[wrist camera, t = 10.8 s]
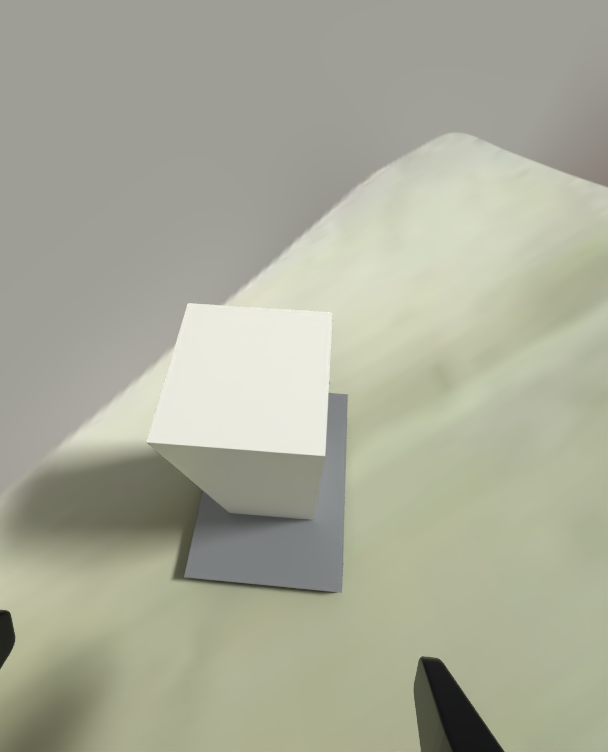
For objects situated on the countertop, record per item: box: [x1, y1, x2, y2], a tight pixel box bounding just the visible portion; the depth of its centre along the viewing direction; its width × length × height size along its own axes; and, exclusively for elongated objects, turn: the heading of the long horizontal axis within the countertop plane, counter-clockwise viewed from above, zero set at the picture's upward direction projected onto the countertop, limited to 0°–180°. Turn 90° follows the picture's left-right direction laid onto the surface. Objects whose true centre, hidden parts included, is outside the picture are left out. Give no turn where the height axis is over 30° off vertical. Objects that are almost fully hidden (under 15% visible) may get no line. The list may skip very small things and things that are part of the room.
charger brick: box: [146, 303, 333, 520], centre depth 16 cm, size 5×5×12 cm
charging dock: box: [184, 393, 348, 593], centre depth 21 cm, size 14×8×4 cm, turn 175°
